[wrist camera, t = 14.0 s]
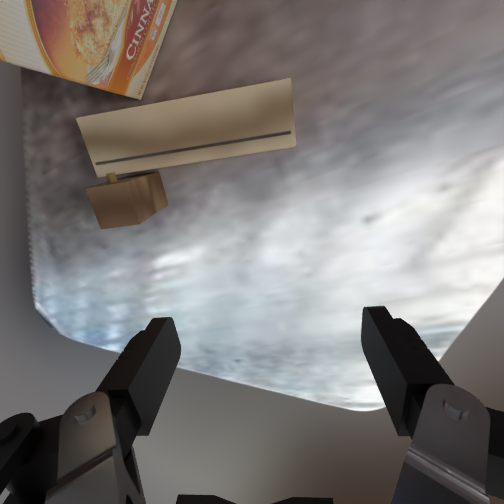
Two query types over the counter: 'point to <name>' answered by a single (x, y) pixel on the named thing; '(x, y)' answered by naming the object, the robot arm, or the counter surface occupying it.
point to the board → (191, 129)
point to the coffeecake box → (86, 40)
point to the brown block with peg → (127, 199)
